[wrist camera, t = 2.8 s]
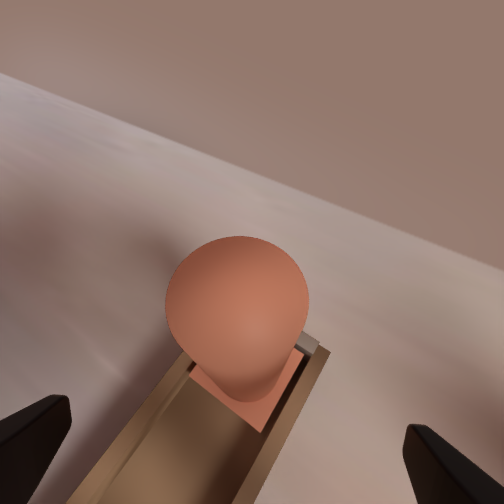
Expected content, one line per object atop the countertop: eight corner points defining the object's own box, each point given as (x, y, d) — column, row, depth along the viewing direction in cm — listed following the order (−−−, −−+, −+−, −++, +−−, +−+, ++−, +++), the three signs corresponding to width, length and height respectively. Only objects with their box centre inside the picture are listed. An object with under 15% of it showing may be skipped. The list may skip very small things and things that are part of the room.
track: (130, 730, 11) (83, 842, 8) (25, 582, 13) (-43, 628, 10) (321, 360, 18) (335, 348, 15) (233, 303, 20) (229, 282, 17)
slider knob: (259, 432, 15) (267, 442, 6) (194, 380, 17) (108, 315, 7) (299, 360, 17) (357, 275, 7) (237, 319, 18) (218, 201, 9)
